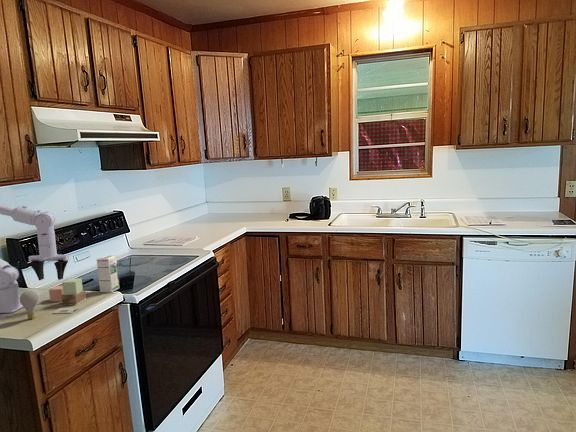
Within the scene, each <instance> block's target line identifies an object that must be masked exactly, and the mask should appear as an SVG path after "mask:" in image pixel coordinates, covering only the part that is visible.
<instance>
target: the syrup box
mask: <svg viewBox="0 0 576 432" xmlns="http://www.w3.org/2000/svg"><path fill="white" fill-rule="evenodd" d="M96 267H97V275H98V276H97V277H98V284H99V292H100V293H113V292H115V291H117V290H119V289H120V277H119V268H118V259H117V255H104V256H101V257H99V258H96Z"/></svg>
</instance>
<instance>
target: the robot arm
mask: <svg viewBox="0 0 576 432" xmlns="http://www.w3.org/2000/svg"><path fill="white" fill-rule="evenodd" d="M0 215H2V216H7V217H8V216H9V217H11V218H12V220H13V221H14V222H17V223H21V224H26V225H29V226H35V228H36V231H37V234H36V235H37V243H38V252H39V254H38V255H29V256H28V262H29V266H30V267H31V268H32V269H33V271H34V272H35V274H36V277H37V278H38V281H42V280H44V279H45V274H44V273H45V272H44V264H45V262H53V264H54V266H55V270H56V275H57V280H58V281H60V280H63V279H64V274H65V269H66V267H67V264H68V262H69V261H70V258H69V257H70V256H69V254H59V253H58V252H57V251H58V250H57V244H56V243H57V242H56V233H55V228H54V227H55V226H54V223H55V221H56V217H55V216H54V215H53V214H52V213H50V212H48V211H43V212H42V210H40V209H38V210H36V209H32V208H29V207H28V205H22V206H21V205H19V206H17V207H12V206H8V205H4V204H1V203H0ZM19 276H20V272H19V270H18V268H16V267H15V266H12V265H11V264H9V262H8V261H5V260H4V259H2V258H1V257H0V313H1V314H2V313H4V314H5V313H6V314H8V313H10V314H12V313H15V312H16V311H18V310H20V309H22V308H24V307H23V305H22V304H21V303H20V296H21V295H20V291H19V290H20V289H19V283H18V281H17V280H18V279H19Z"/></svg>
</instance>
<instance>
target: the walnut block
mask: <svg viewBox="0 0 576 432" xmlns="http://www.w3.org/2000/svg"><path fill="white" fill-rule="evenodd" d="M61 297H62V301H61V304H77V303H78V302H80V301H82V300H84V299H85V298H86V299H87V293H86V290H83V291H81V292H80V293H78V294H77V295H61Z"/></svg>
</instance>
